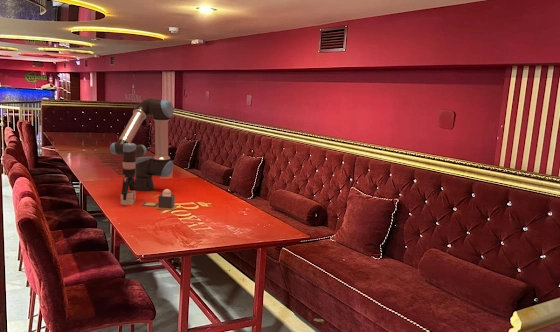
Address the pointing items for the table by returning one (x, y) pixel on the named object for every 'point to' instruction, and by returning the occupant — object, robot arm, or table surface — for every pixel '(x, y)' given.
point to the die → (130, 197)
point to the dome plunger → (167, 193)
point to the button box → (166, 202)
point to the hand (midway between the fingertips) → (128, 202)
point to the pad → (150, 204)
